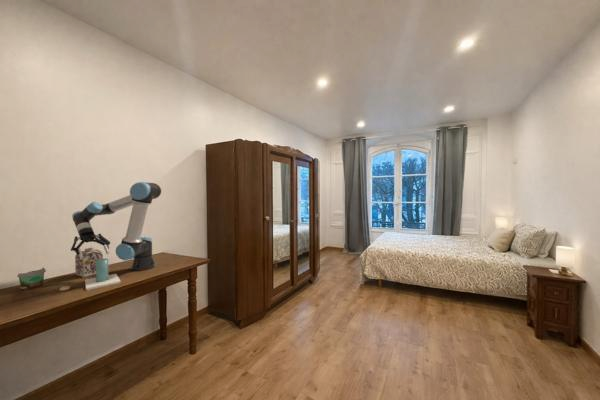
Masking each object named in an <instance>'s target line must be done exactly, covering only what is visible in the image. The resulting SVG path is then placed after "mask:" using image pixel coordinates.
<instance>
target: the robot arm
mask: <svg viewBox="0 0 600 400" xmlns="http://www.w3.org/2000/svg"><path fill="white" fill-rule="evenodd" d="M161 195H162V188H161V187H160V185H159V184H157V183H154V182H144V181H141V182H140V181H139V182H136V183H133V184H132V186H131V187H130V188H129V195H126V196H124V197H121V198H118V199H115V200H113V201H110V202H108V203H105V204H101V203H99V202H96V201H92V202H91V203H89V204H88V205H86V206H85V208H84V209H82V210H78V211H75V212H73V213H72V216H71V217H72V221H73V223H74V225H75V228H76V231H77V233H78V235H77V236H74V238H73V244H72V246H71V247H70V251H71V252H75V253H76V255H79V257H80V259H82V258H83V255H82V252H81V251H82V250H81V247H82V246H83V244H85V243H92V242H93V243H97V244H99V245H102V246H103V249H104V251H105V254H106V255H109V253H110V250H109V249H110V244H111V241H110V240H108V239H107V238H105V237H104V236H103V235H102V234H101V233H98V234H95V232H94V229H93V227H92V225H91V220H93V218H95V216H97V217H98V216H105V215H113V214H115V213H116V212H118V211H121V210H123V209H126V208H129V207H131V206H132V208H131V213H130V217H129V221H128V226H127V229H126V233H125V236H123V238H122V239H121V242H120V244H119V245H117V246H116V247H115V255H116V256H117V257H118V259H120V260H122V261H129V260H132V259H133V260H132V263H131V265H130V269H131V271H134V272H135V271H137V272H138V271H146V270H150V269H152V268H155V267H156V262H155V260H154V258H153V240H152V237H150V236H142V232H143V229H144V224H145V221H146V217H147V211H148V207H149V205H151V204H152V203H153V200H154V199H157V198H159V197H160V196H161ZM79 240H80V242H79V243H78V245H77V242H78V241H79Z"/></svg>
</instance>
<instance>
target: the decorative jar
mask: <svg viewBox="0 0 600 400" xmlns="http://www.w3.org/2000/svg"><path fill="white" fill-rule="evenodd" d="M81 252H82V255H83V258H82V259H80V257H79V255H77V254H76V255H75V256H74V258H75V259H74V263H75V265H74V266H75V267H74V268H75V275H76V276H79V277H81V278H87V277H90V276H94V275H95V276H96V260H98V259H104V254H103V251H101V250H100V249H94V247H87V248H85V249H84V250H81Z"/></svg>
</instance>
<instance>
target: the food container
mask: <svg viewBox="0 0 600 400" xmlns="http://www.w3.org/2000/svg"><path fill="white" fill-rule="evenodd" d="M45 272H47V271H46V269H45V267H42V268H41V269H37V270H30V271H28V272H24V273H18V274H17V275H16V276H17V277H16V278H18V282H19V286H20V290H21V291H24V290H25V291H27V290H28V291H29V290H32V289H37V288H40V287H42V286H44V280H45Z"/></svg>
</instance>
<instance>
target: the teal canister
mask: <svg viewBox="0 0 600 400" xmlns="http://www.w3.org/2000/svg"><path fill="white" fill-rule="evenodd" d="M109 275H110V274H109V258H103V259H98V260H96V274H95V278H96V282H103V281H107V280H109Z"/></svg>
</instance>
